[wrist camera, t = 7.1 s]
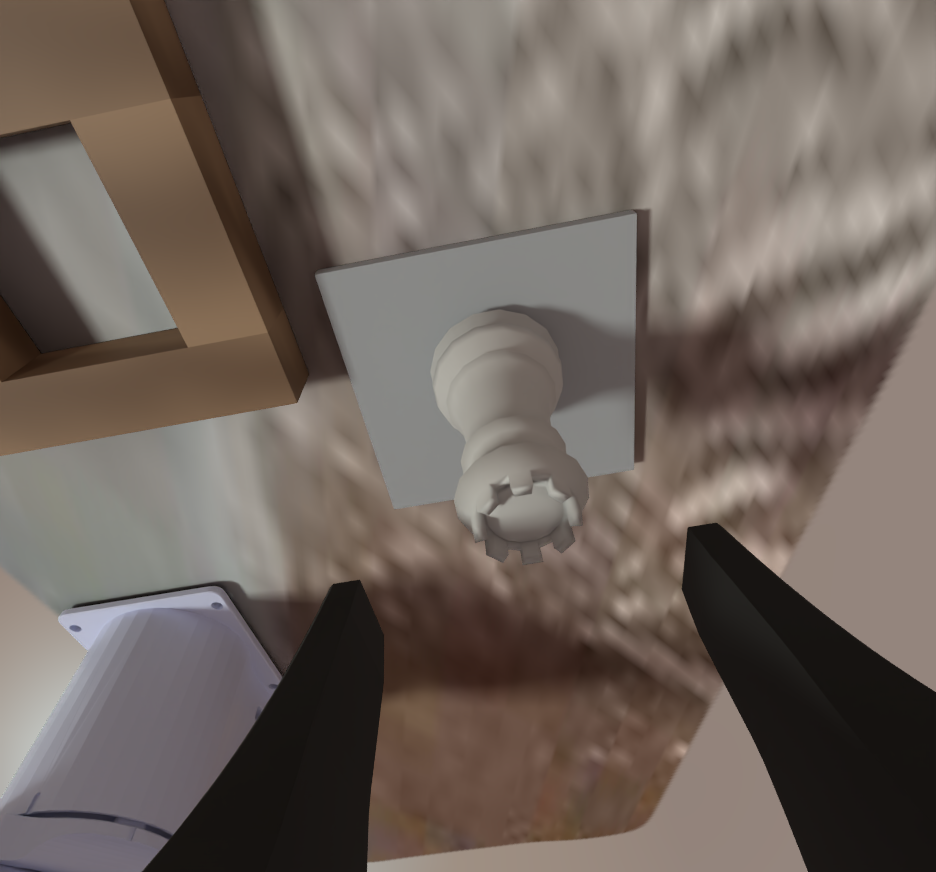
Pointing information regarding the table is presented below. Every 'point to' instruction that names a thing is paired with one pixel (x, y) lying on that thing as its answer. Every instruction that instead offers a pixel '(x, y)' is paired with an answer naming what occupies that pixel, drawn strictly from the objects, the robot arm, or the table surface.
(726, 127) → the table surface
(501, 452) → the rook chess piece
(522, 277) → the slate mat
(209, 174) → the square wooden frame
